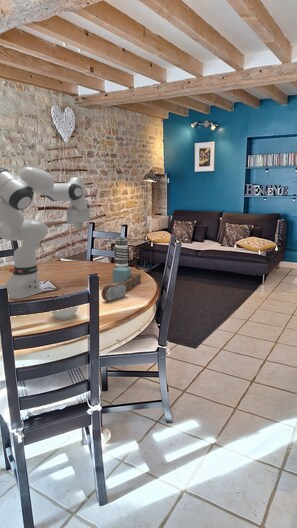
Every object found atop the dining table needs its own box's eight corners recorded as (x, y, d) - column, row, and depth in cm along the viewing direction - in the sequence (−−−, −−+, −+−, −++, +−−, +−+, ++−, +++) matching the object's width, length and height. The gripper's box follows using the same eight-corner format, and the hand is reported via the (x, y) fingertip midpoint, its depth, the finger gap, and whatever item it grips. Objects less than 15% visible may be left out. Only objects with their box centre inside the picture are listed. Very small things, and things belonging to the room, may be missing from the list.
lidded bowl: (52, 312, 162) (50, 289, 160) (80, 311, 163) (79, 288, 161) (47, 323, 150) (45, 298, 148) (77, 321, 151) (76, 297, 149)
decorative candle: (115, 274, 230) (114, 236, 224) (129, 274, 230) (129, 236, 224) (114, 278, 221) (113, 238, 215) (129, 278, 221) (128, 238, 215)
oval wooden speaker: (123, 295, 187) (123, 280, 185) (127, 296, 185) (127, 281, 183) (101, 302, 176) (100, 285, 175) (105, 303, 174) (104, 287, 172)
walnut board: (125, 292, 192) (125, 283, 191) (120, 291, 194) (120, 282, 192) (140, 281, 213) (140, 273, 211) (136, 281, 214) (136, 273, 212)
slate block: (125, 288, 200) (125, 271, 198) (113, 286, 203) (112, 269, 200) (131, 284, 207) (131, 267, 205) (119, 283, 210) (118, 266, 208)
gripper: (72, 207, 194) (74, 232, 197) (91, 205, 213) (92, 228, 216) (63, 207, 196) (64, 231, 199) (82, 205, 215) (83, 227, 218)
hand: (79, 230), depth 207 cm, fingers closed
